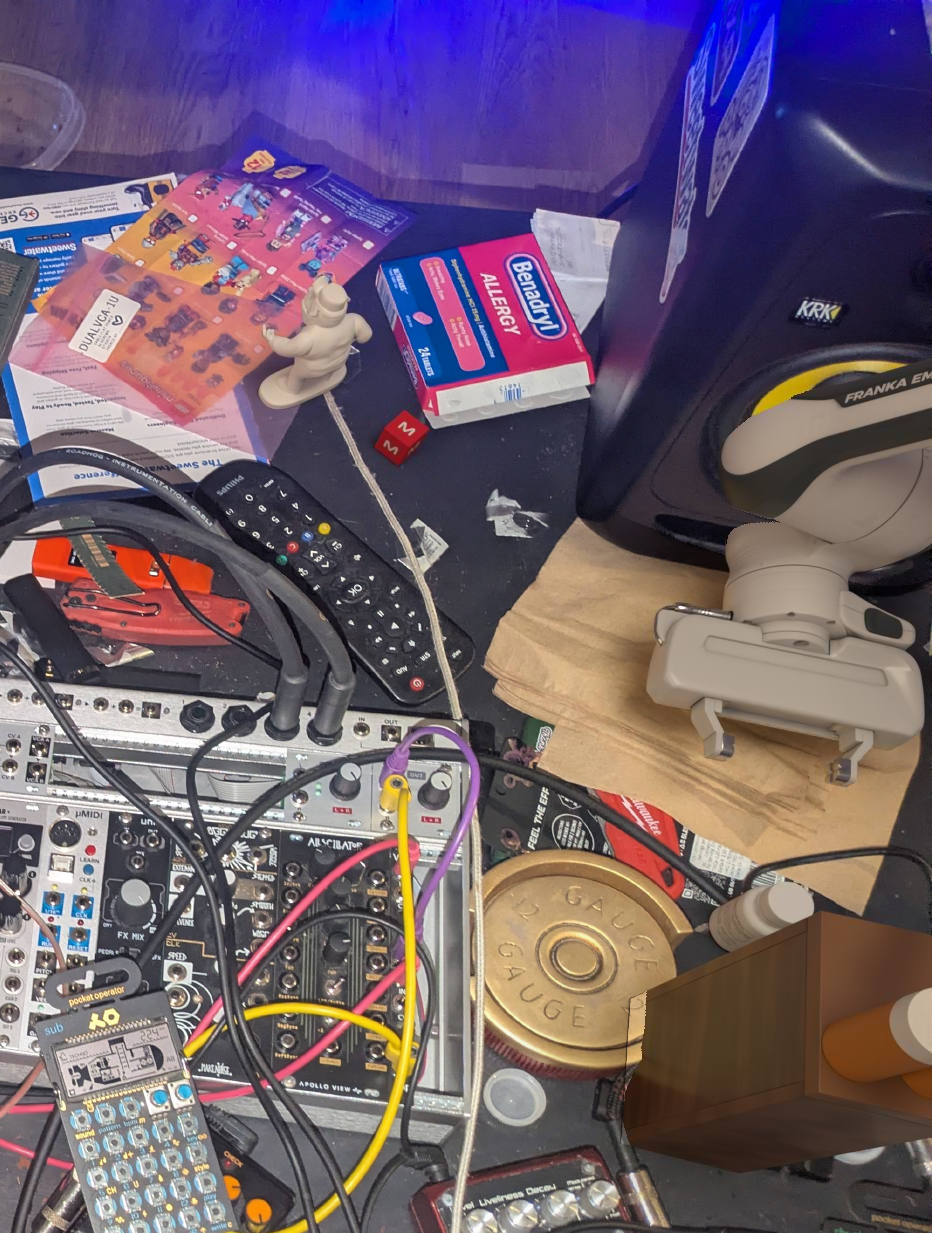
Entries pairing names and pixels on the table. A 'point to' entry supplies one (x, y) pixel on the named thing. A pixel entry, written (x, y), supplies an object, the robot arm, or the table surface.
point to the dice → (401, 438)
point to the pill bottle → (759, 914)
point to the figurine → (314, 348)
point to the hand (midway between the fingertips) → (779, 770)
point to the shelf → (861, 1003)
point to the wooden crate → (742, 1068)
